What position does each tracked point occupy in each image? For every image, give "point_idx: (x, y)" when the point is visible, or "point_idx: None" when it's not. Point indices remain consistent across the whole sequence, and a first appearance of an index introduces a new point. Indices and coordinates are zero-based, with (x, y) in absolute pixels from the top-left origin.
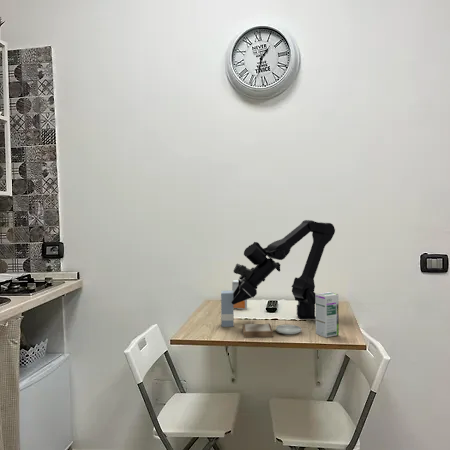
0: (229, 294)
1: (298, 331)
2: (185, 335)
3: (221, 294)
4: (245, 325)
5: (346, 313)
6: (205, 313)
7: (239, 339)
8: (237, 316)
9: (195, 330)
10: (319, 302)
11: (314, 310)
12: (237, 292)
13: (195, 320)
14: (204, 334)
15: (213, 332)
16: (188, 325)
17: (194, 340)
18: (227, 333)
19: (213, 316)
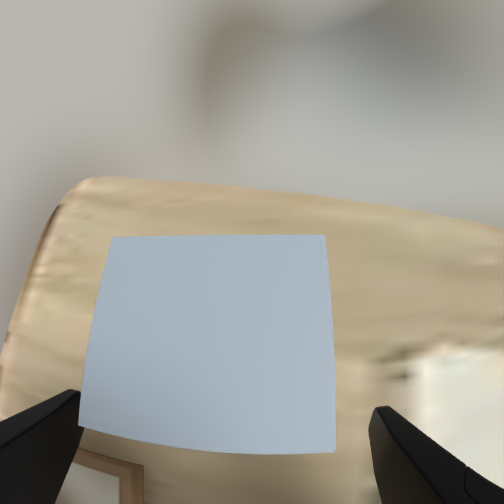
0: (94, 365)
1: None
2: (104, 197)
3: (117, 249)
4: (90, 472)
5: None
6: (472, 253)
7: (7, 399)
8: (442, 435)
9: (159, 224)
10: None
11: None
12: (408, 500)
13: (343, 213)
14: (91, 263)
15: None
16: (249, 191)
17: (43, 232)
18: (79, 369)
19: (433, 296)
